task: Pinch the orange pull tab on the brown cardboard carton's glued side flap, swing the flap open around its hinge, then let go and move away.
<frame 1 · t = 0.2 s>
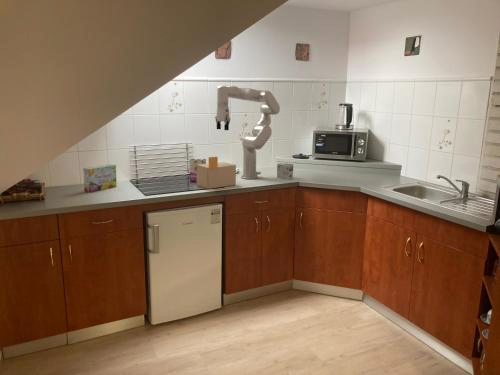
hand: (222, 129, 292), 37 cm above the counter, tool pointing down, fingers open, 9 cm apart
snack box: (101, 189, 270), on the counter
carton: (216, 185, 288), on the counter
light bulb box: (284, 178, 317), on the counter
candy bar box: (198, 181, 298), on the counter
flap: (222, 171, 279), point 11 cm above the counter, hinge at 0.0°
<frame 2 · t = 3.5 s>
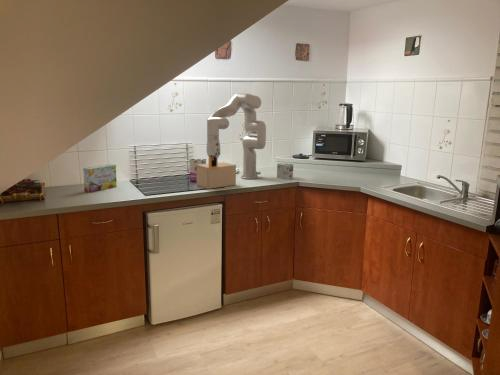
hand: (213, 165, 274), 15 cm above the counter, tool pointing down, fingers closed
flap: (222, 171, 279), point 11 cm above the counter, hinge at 0.0°, touching gripper
everything else where it was.
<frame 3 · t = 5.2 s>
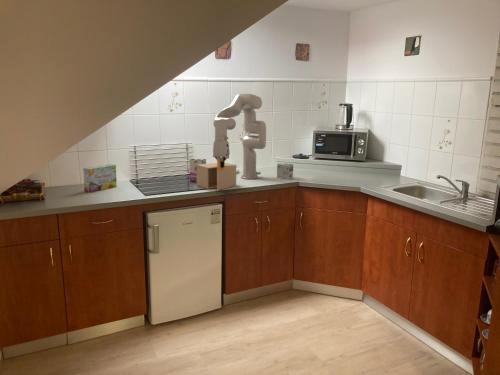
hand: (220, 167, 270), 15 cm above the counter, tool pointing down, fingers closed
flap: (227, 172, 277), point 11 cm above the counter, hinge at 21.3°, touching gripper
everything else where it was.
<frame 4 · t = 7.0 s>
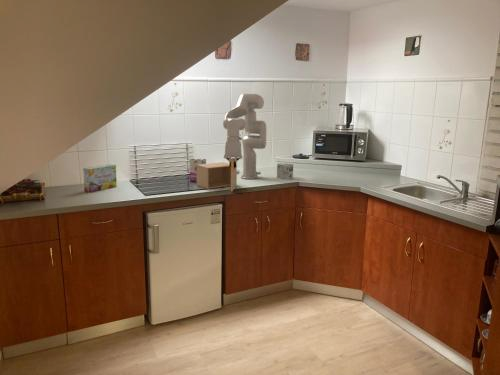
hand: (232, 167, 268), 15 cm above the counter, tool pointing down, fingers closed
flap: (234, 172, 276), point 11 cm above the counter, hinge at 46.4°, touching gripper
everything else where it was.
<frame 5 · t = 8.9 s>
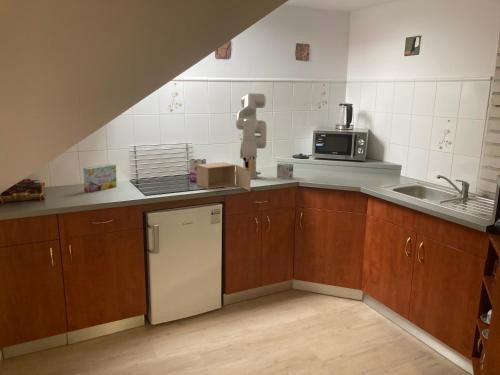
hand: (248, 167, 270), 15 cm above the counter, tool pointing down, fingers closed on flap
flap: (243, 172, 277), point 11 cm above the counter, hinge at 78.1°, touching gripper
everything else where it was.
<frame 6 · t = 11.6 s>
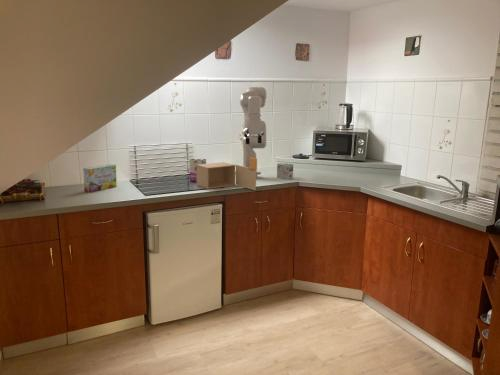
hand: (253, 143, 269), 30 cm above the counter, tool pointing down, fingers open, 9 cm apart
flap: (246, 172, 279), point 11 cm above the counter, hinge at 89.4°
everything else where it was.
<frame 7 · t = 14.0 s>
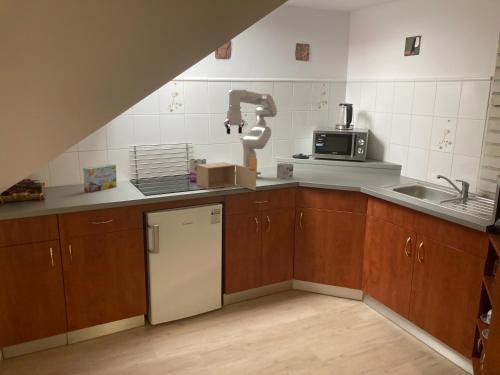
hand: (234, 133, 289), 34 cm above the counter, tool pointing down, fingers open, 9 cm apart
nothing on the counter moved.
at the end: flap at +89° (first picture: +0°); candy bar box moved 0.2 cm from its start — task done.
